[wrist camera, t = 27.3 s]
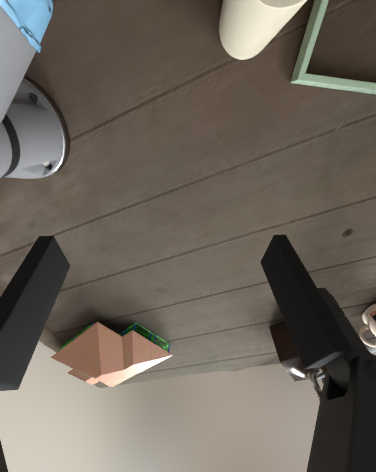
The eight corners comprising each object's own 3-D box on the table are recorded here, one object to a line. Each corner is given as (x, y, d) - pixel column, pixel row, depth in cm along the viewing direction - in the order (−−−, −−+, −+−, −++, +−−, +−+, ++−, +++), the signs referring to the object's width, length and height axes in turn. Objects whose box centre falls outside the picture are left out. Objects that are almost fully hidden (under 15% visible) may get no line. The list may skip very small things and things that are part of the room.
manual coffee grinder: (321, 335, 56) (368, 418, 40) (282, 346, 59) (311, 427, 44) (302, 300, 50) (349, 383, 34) (260, 315, 53) (284, 397, 38)
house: (53, 350, 66) (35, 377, 59) (112, 304, 54) (98, 332, 47) (110, 379, 74) (101, 406, 67) (173, 344, 61) (170, 373, 54)
